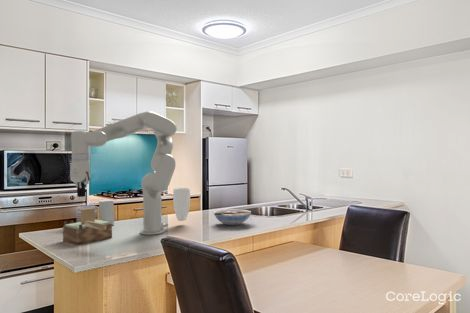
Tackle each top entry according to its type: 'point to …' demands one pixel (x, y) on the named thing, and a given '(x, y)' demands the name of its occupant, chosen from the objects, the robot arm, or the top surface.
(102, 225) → the wooden bar
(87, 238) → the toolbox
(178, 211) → the cup
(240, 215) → the ramen bowl
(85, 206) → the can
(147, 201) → the robot arm
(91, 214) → the lid
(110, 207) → the skincare box
